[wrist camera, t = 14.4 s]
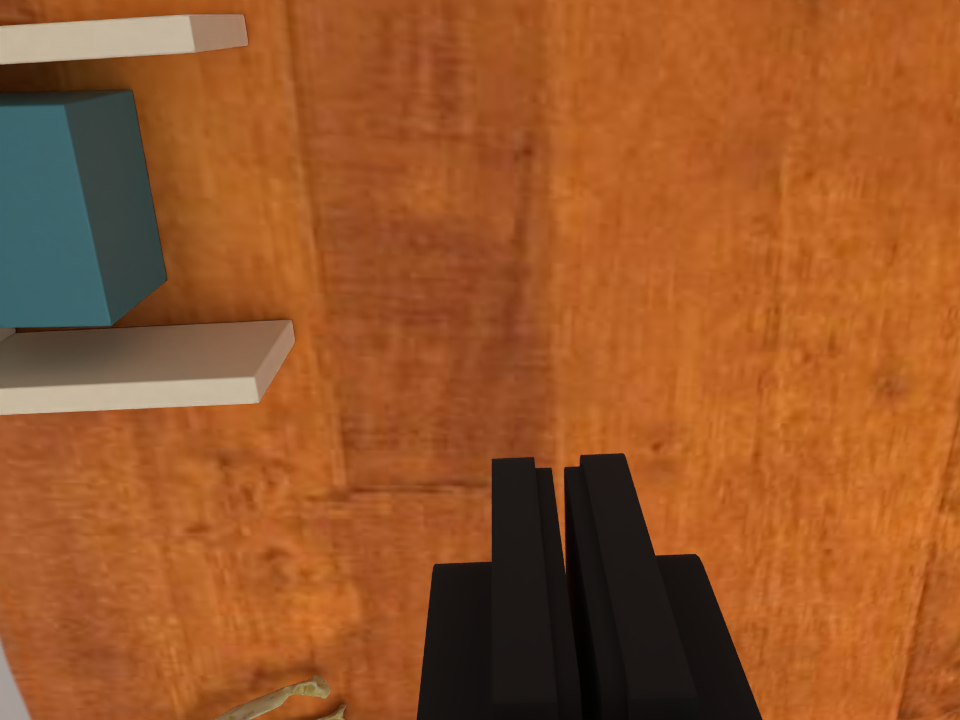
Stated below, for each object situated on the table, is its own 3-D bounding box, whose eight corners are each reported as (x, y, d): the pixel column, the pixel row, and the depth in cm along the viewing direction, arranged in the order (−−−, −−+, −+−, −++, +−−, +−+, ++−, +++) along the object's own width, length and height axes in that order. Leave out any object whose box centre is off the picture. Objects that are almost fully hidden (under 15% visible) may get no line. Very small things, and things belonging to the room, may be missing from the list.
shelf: (243, 7, 27) (179, 6, 22) (296, 347, 32) (255, 417, 27) (-106, 29, 28) (-258, 33, 22) (-1, 361, 33) (-104, 433, 27)
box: (133, 89, 28) (63, 104, 24) (167, 280, 31) (111, 326, 27) (-8, 92, 29) (-104, 108, 24) (39, 282, 31) (-39, 329, 27)
